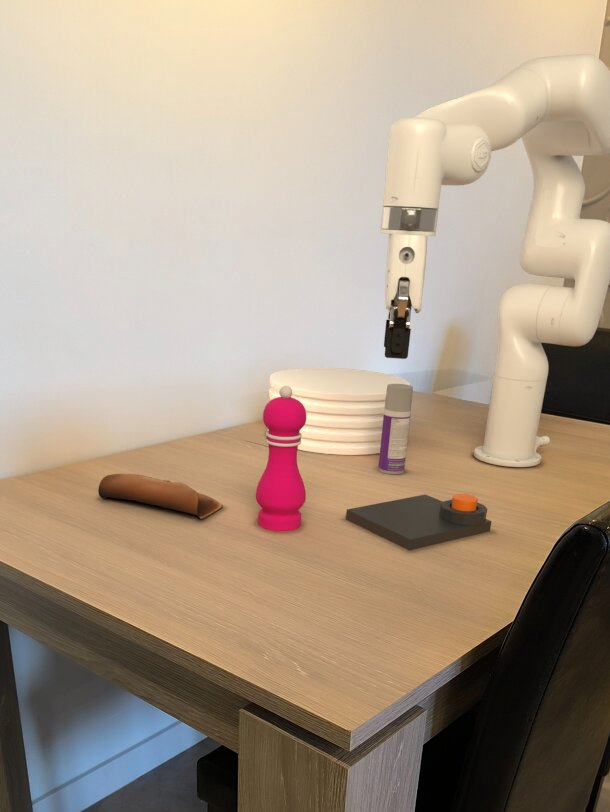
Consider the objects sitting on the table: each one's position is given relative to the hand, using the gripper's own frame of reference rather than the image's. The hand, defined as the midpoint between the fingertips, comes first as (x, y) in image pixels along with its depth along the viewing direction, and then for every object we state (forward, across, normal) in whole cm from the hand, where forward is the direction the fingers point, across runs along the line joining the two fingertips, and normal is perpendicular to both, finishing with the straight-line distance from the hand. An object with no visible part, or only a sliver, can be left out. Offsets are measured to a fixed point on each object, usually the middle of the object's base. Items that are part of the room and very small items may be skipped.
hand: (395, 352), depth 120 cm
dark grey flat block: (+24, -7, -6) cm, 25 cm away
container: (+24, +22, -2) cm, 32 cm away
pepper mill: (+24, -11, +14) cm, 30 cm away
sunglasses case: (+24, -6, +33) cm, 41 cm away
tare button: (+20, -7, -12) cm, 25 cm away
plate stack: (+24, +44, +9) cm, 50 cm away
